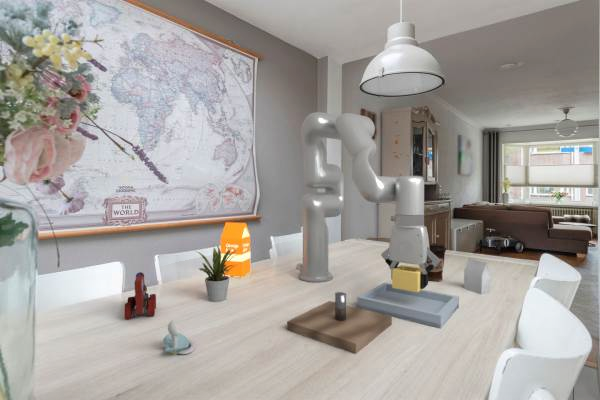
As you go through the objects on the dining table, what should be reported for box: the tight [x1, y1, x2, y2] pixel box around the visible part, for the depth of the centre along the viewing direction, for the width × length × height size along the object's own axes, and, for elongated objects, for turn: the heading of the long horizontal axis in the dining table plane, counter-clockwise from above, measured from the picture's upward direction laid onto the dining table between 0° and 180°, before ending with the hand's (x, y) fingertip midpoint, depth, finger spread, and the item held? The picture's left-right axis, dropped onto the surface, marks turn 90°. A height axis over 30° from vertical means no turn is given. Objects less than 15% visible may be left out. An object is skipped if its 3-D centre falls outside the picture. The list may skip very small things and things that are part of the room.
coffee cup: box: [426, 242, 447, 282], centre depth 120 cm, size 9×8×13 cm
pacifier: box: [162, 320, 196, 355], centre depth 67 cm, size 7×6×6 cm
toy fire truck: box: [123, 271, 157, 320], centre depth 87 cm, size 7×12×10 cm, turn 21°
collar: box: [391, 264, 423, 292], centre depth 91 cm, size 7×7×5 cm
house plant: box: [195, 244, 243, 303], centre depth 97 cm, size 14×14×16 cm
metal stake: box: [334, 291, 347, 321], centre depth 78 cm, size 3×3×6 cm
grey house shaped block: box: [463, 257, 491, 295], centre depth 107 cm, size 4×7×10 cm, turn 20°
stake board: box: [286, 300, 393, 354], centre depth 78 cm, size 18×18×2 cm
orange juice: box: [220, 221, 251, 278], centre depth 126 cm, size 8×9×20 cm
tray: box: [356, 282, 460, 329], centre depth 91 cm, size 22×18×3 cm
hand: (409, 284), depth 91 cm, fingers closed on collar, 7 cm apart
